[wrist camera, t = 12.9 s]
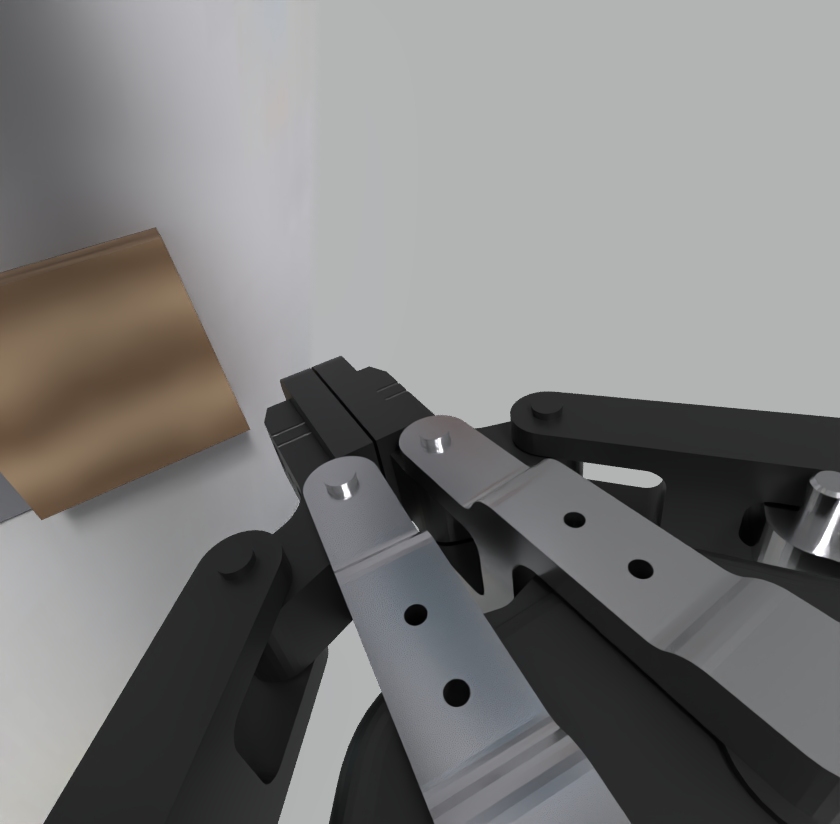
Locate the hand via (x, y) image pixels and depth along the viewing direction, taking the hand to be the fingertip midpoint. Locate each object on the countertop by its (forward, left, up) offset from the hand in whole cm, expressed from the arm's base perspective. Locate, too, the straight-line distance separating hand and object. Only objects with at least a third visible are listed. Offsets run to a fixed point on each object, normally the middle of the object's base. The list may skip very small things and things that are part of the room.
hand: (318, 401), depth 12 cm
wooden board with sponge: (+7, -8, -28) cm, 30 cm away
